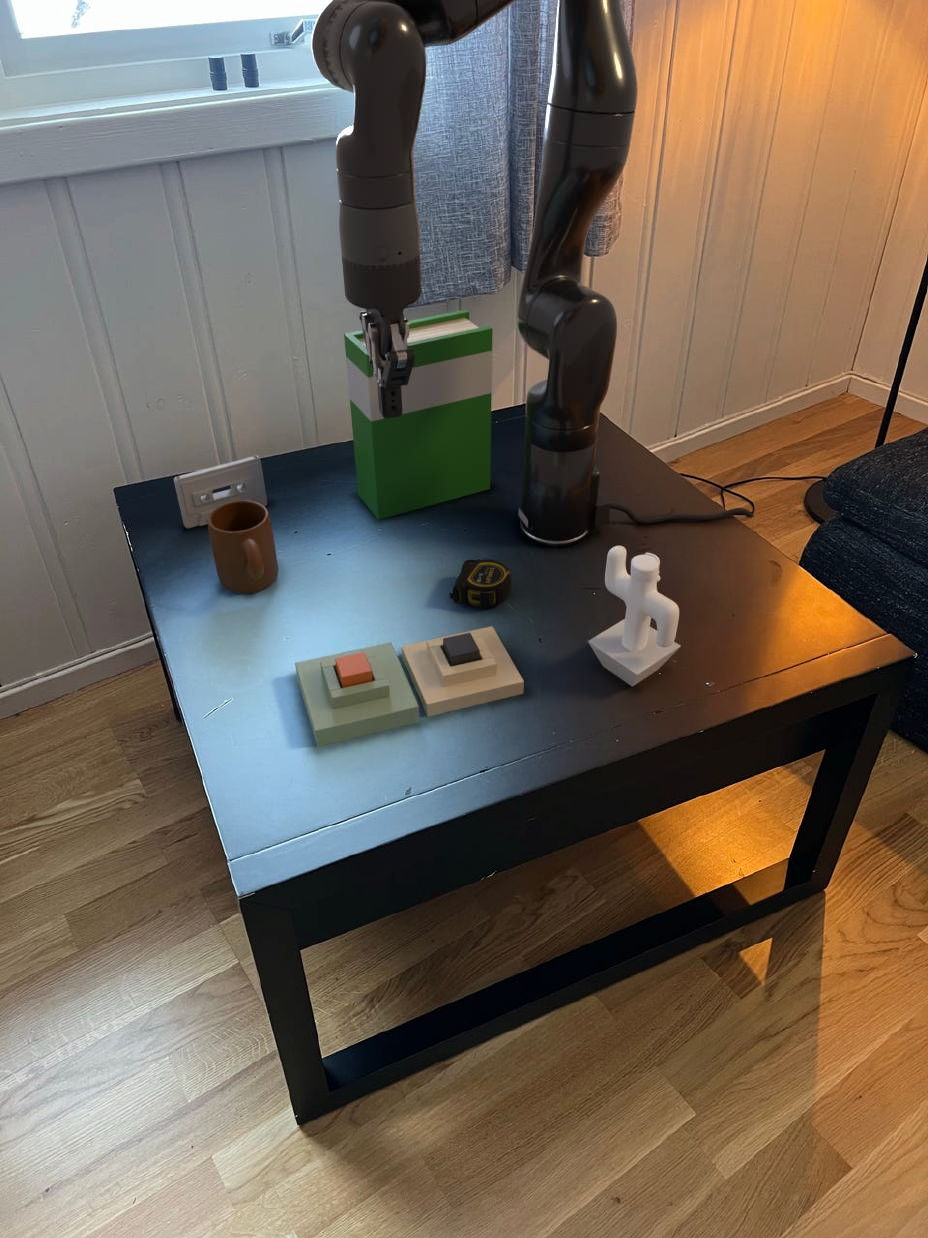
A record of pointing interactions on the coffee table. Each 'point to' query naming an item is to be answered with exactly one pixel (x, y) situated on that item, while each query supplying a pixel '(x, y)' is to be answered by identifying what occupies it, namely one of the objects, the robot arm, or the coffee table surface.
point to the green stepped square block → (356, 696)
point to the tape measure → (482, 583)
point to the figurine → (637, 619)
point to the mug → (243, 546)
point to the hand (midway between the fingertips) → (390, 414)
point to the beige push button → (461, 673)
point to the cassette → (217, 477)
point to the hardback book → (425, 418)
